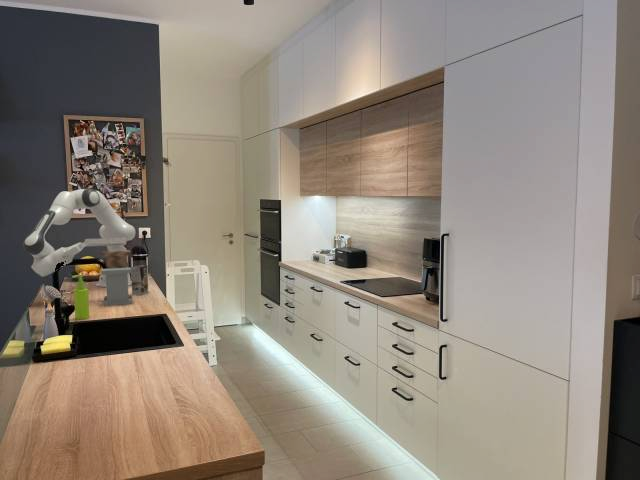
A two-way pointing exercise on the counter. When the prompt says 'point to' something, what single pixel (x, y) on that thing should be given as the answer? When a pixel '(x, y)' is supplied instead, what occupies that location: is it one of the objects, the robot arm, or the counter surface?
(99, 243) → the alu channel
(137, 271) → the coffee box
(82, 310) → the soap dispenser
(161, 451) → the counter surface
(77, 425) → the counter surface
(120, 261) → the walnut stand
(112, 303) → the grey stand
